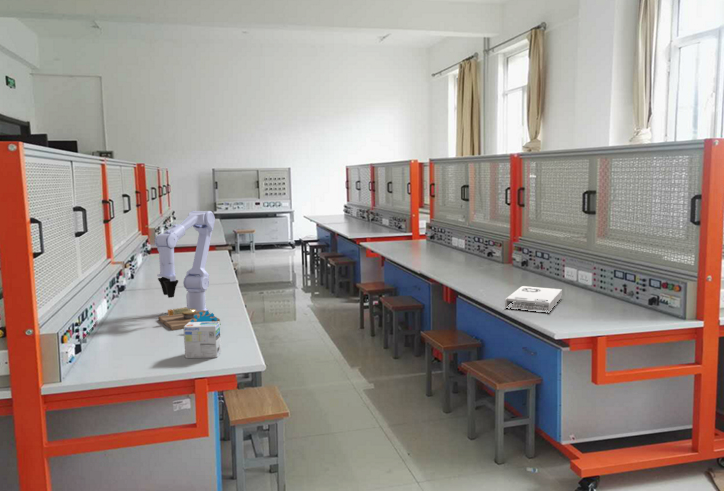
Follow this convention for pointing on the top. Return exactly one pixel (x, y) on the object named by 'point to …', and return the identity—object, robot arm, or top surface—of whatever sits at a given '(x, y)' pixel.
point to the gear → (204, 317)
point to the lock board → (181, 320)
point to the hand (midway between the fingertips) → (168, 296)
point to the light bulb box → (202, 339)
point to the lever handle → (181, 311)
